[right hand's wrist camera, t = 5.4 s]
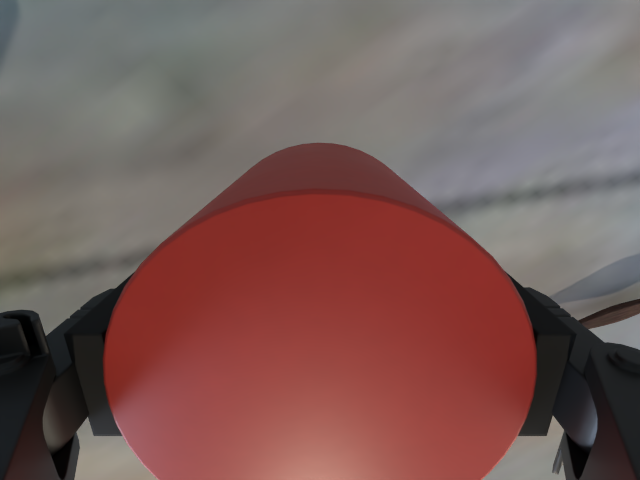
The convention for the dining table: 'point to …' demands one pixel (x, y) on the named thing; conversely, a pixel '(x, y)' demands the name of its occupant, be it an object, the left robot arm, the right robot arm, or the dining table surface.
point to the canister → (320, 334)
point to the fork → (612, 314)
